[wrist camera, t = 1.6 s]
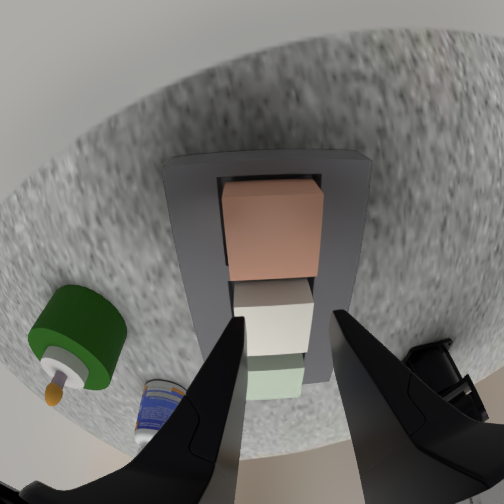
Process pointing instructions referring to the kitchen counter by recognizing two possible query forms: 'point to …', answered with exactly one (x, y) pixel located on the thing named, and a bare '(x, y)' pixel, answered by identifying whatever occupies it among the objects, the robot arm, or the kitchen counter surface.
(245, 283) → the key white
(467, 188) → the kitchen counter surface
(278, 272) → the key terracotta
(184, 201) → the keypad
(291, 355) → the key sage
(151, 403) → the pill bottle
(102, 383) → the candle
